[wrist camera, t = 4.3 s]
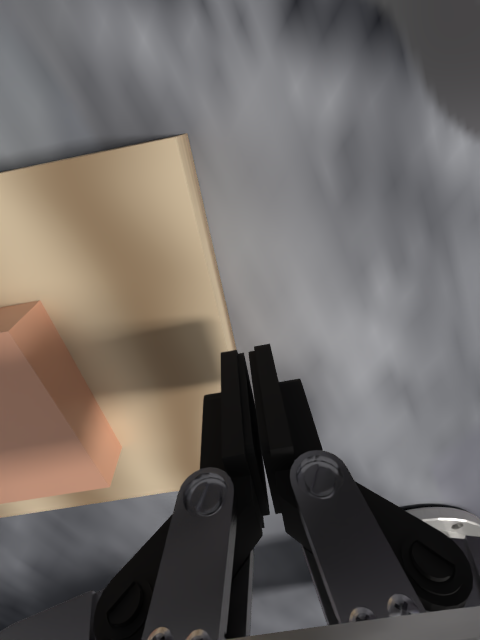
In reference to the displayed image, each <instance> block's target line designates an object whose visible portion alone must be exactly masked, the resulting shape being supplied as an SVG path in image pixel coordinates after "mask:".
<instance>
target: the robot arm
mask: <svg viewBox="0 0 480 640" xmlns="http://www.w3.org/2000/svg"><path fill="white" fill-rule="evenodd" d="M254 350H255V351H251V352H249V360H250V368H251V375H252V383H253V391H254V398H253V393H252V389H251V384H250V380H249V375H248V370H247V366H246V361H245V356H244V353H240V354H238V352H237V350H232V351H226V352H221V392H219V393H214V394H208V395H204V399H203V415H202V435H201V454H200V470H198V471H195V472H194V473H192V474H191V475H190V476H189V477H187V478H186V480H185V481H184V482H183V484H182V485H181V487H180V490H179V492H178V495H177V499H176V503H175V507H174V511H173V514H172V515H171V516H170V518H169V519H168V520H167V521H166V522H165V523H164V524H163V525H162V526H161V527H160V528H159V529H158V531H157V532H156V533H155V534H154V535H153V536H152V537H151V538H150V539H149V540H148V541H147V542H146V543H145V545H144V546H143V547H142V548H141V549H140V550H139V551H138V552H137V553H136V554H135V555H134V556H133V558H132V559H131V560H130V561H129V562H128V563H127V564H126V565H125V566H124V567H123V568H122V569H121V570H120V572H119V573H118V574H117V575H116V576H115V577H114V578H113V579H112V580H111V581H110V583H109V584H108V585H107V587H106V588H105V589H103V590H101V591H98V592H96V593H95V592H94V591H93V590H91V591H89V592H86V593H84V594H82V595H79V596H77V597H75V598H72V599H70V600H68V601H65V602H63V603H61V604H58V605H56V606H54V607H51V608H49V609H47V610H44V611H42V612H40V613H37V614H35V615H33V616H30V617H28V618H25V619H23V620H21V621H18V622H16V623H14V624H12V625H10V626H9V627H7V628H6V629H4V630H2V631H1V632H0V640H480V519H479V518H478V517H476V516H475V515H473V514H471V513H469V512H466V511H464V510H460V509H455V508H448V507H423V508H416V509H409V510H403V509H401V508H400V507H398V506H396V505H395V504H393V503H391V502H389V501H388V500H386V499H384V498H383V497H381V496H379V495H377V494H376V493H374V492H372V491H371V490H369V489H367V488H365V487H364V486H362V485H360V484H359V483H357V482H355V481H354V479H353V477H352V475H351V473H350V472H349V470H348V468H347V466H346V465H345V464H344V462H343V461H342V460H341V459H340V458H338V457H337V456H336V455H334V454H332V453H329V452H327V451H323V450H322V446H321V443H320V440H319V437H318V434H317V430H316V427H315V424H314V421H313V418H312V414H311V411H310V408H309V405H308V402H307V398H306V395H305V392H304V389H303V386H302V383H301V380H300V379H295V380H289V381H284V382H278V378H277V373H276V369H275V364H274V360H273V355H272V351H271V347H270V344H266V345H260V346H255V347H254ZM254 399H255V403H254ZM255 406H256V407H255ZM262 456H263V458H262ZM263 461H264V465H265V469H266V474H267V478H268V483H269V487H270V492H271V496H272V500H273V505H274V509H275V514H278V513H282V516H283V521H284V526H285V531H286V532H287V533H288V534H289V535H290V536H292V537H293V538H294V539H295V540H297V541H298V542H299V543H300V544H301V547H302V550H303V553H304V556H305V559H306V562H307V565H308V568H309V571H310V574H311V577H312V580H313V583H314V586H315V589H316V592H317V595H318V598H319V601H320V604H321V607H322V610H323V613H324V616H325V619H326V622H327V625H328V626H321V627H314V628H306V629H299V630H292V631H284V632H277V633H270V634H262V635H255V636H250V628H251V607H252V586H253V565H254V547H255V545H256V544H257V543H258V541H259V540H260V538H261V537H262V528H264V520H263V516H265V515H270V512H269V504H268V496H267V488H266V481H265V473H264V465H263Z"/></svg>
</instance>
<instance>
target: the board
mask: <svg viewBox="0 0 480 640" xmlns="http://www.w3.org/2000/svg"><path fill="white" fill-rule="evenodd" d="M39 300H40V301H41V302H42V304H43V306H44V308H45V310H46V311H47V313H48V315H49V317H50V319H51V320H52V322H53V324H54V326H55V328H56V329H57V331H58V333H59V335H60V337H61V338H62V340H63V342H64V344H65V346H66V347H67V349H68V351H69V353H70V354H71V356H72V358H73V360H74V362H75V363H76V365H77V367H78V369H79V371H80V372H81V374H82V376H83V378H84V380H85V381H86V383H87V385H88V387H89V389H90V390H91V392H92V394H93V396H94V398H95V399H96V401H97V403H98V405H99V407H100V408H101V410H102V412H103V414H104V416H105V417H106V419H107V421H108V423H109V424H110V426H111V428H112V430H113V432H114V433H115V435H116V437H117V439H118V441H119V442H120V444H121V446H122V449H121V453H120V456H119V459H118V462H117V466H116V469H115V472H114V475H113V479H112V482H111V485H110V487H108V488H101V489H95V490H88V491H82V492H75V493H69V494H62V495H56V496H49V497H43V498H36V499H30V500H23V501H17V502H10V503H4V504H0V518H2V517H8V516H15V515H22V514H28V513H35V512H41V511H48V510H54V509H61V508H68V507H74V506H81V505H87V504H94V503H101V502H107V501H114V500H120V499H127V498H134V497H140V496H147V495H153V494H160V493H167V492H173V491H179V490H180V487H181V485H182V484H183V482H184V481H185V480H186V478H187V477H189V476H190V475H191V474H192V473H194V472H195V471H198V470H200V454H201V435H202V415H203V399H204V395H208V394H214V393H219V392H221V352H226V351H232V350H236V346H235V341H234V337H233V333H232V328H231V324H230V319H229V315H228V311H227V306H226V302H225V297H224V293H223V289H222V284H221V280H220V275H219V271H218V267H217V262H216V258H215V254H214V249H213V245H212V240H211V236H210V232H209V227H208V223H207V218H206V214H205V210H204V205H203V201H202V196H201V192H200V188H199V183H198V179H197V174H196V170H195V166H194V161H193V157H192V153H191V148H190V144H189V139H188V135H187V134H182V135H177V136H172V137H168V138H163V139H158V140H153V141H148V142H144V143H139V144H134V145H129V146H124V147H120V148H115V149H110V150H105V151H100V152H96V153H91V154H86V155H81V156H76V157H71V158H67V159H62V160H57V161H52V162H47V163H43V164H38V165H33V166H28V167H23V168H19V169H14V170H9V171H4V172H0V308H1V307H6V306H12V305H17V304H23V303H28V302H33V301H39Z"/></svg>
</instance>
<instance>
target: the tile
mask: <svg viewBox="0 0 480 640" xmlns="http://www.w3.org/2000/svg"><path fill="white" fill-rule="evenodd" d="M121 449H122V446H121V444H120V442H119V441H118V439H117V437H116V435H115V433H114V432H113V430H112V428H111V426H110V424H109V423H108V421H107V419H106V417H105V416H104V414H103V412H102V410H101V408H100V407H99V405H98V403H97V401H96V399H95V398H94V396H93V394H92V392H91V390H90V389H89V387H88V385H87V383H86V381H85V380H84V378H83V376H82V374H81V372H80V371H79V369H78V367H77V365H76V363H75V362H74V360H73V358H72V356H71V354H70V353H69V351H68V349H67V347H66V346H65V344H64V342H63V340H62V338H61V337H60V335H59V333H58V331H57V329H56V328H55V326H54V324H53V322H52V320H51V319H50V317H49V315H48V313H47V311H46V310H45V308H44V306H43V304H42V302H41V301H40V300H39V301H33V302H28V303H23V304H17V305H12V306H6V307H1V308H0V504H4V503H10V502H17V501H23V500H30V499H36V498H43V497H49V496H56V495H62V494H69V493H75V492H82V491H88V490H95V489H101V488H108V487H110V485H111V482H112V479H113V475H114V472H115V469H116V466H117V462H118V459H119V456H120V453H121Z"/></svg>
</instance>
